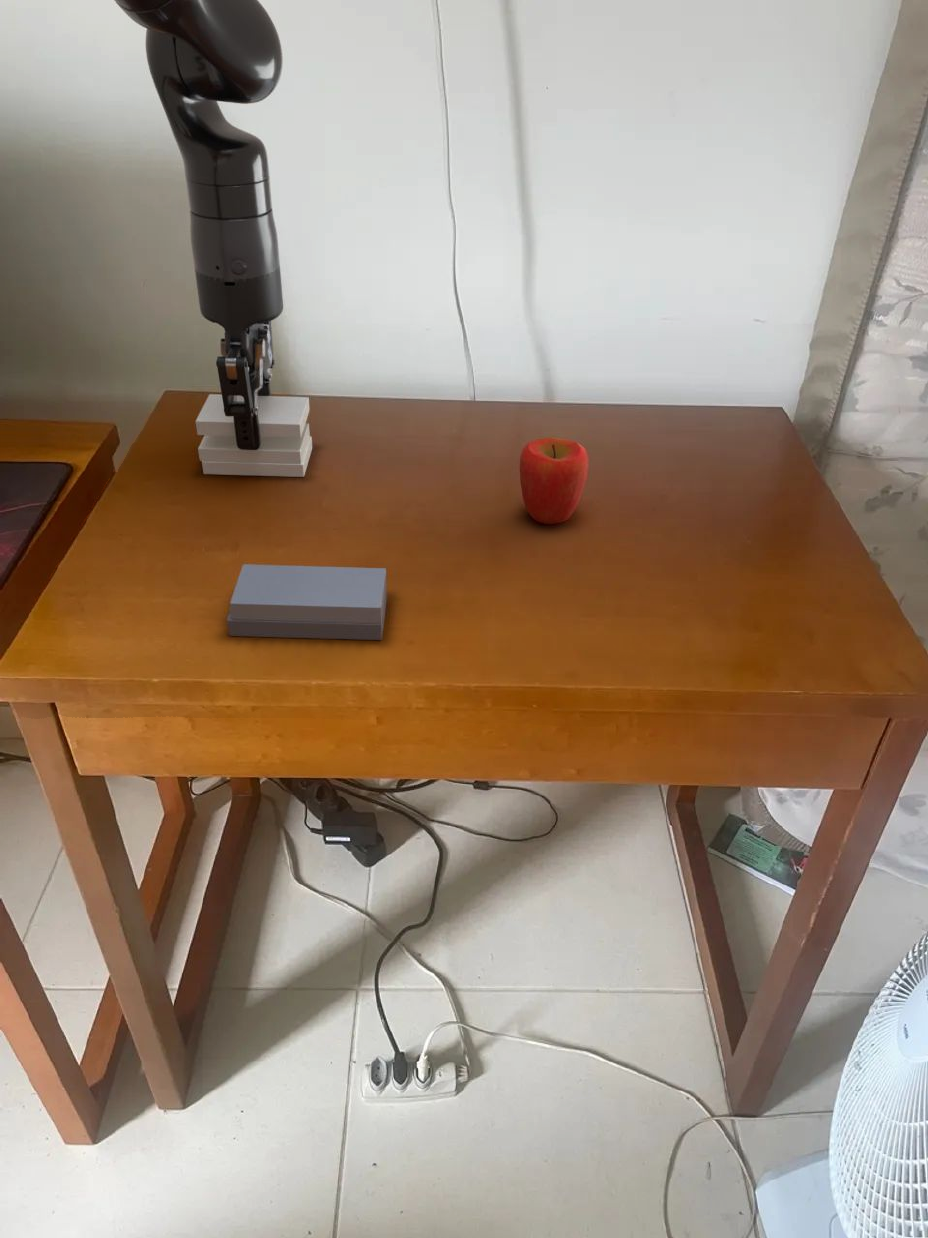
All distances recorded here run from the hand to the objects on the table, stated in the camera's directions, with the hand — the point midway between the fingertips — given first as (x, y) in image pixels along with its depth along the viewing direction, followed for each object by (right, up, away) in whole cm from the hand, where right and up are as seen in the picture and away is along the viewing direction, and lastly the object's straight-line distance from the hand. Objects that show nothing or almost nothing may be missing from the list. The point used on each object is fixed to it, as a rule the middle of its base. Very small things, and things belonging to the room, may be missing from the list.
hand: (255, 431), depth 98 cm
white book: (0, +1, -1) cm, 1 cm away
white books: (0, -3, +2) cm, 3 cm away
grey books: (+8, -18, -19) cm, 28 cm away
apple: (+29, -9, -5) cm, 31 cm away
